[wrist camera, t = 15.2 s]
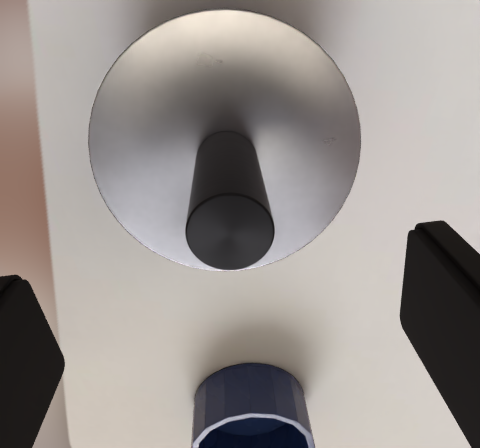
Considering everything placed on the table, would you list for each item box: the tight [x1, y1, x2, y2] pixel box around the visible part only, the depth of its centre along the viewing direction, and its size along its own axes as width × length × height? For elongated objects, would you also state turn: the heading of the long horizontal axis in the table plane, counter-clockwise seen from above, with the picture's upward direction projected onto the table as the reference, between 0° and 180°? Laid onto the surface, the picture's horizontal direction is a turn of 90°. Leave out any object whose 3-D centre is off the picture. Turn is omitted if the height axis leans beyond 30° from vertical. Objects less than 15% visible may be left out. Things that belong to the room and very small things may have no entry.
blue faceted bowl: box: [191, 363, 315, 448], centre depth 39 cm, size 11×11×5 cm
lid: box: [88, 8, 361, 271], centre depth 16 cm, size 12×12×8 cm
